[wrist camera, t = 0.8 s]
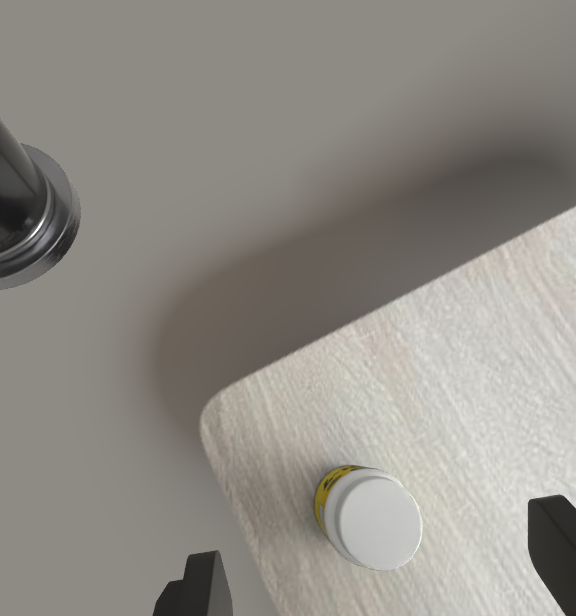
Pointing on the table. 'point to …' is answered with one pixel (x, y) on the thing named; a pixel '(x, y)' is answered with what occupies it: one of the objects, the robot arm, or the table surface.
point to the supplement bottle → (368, 517)
